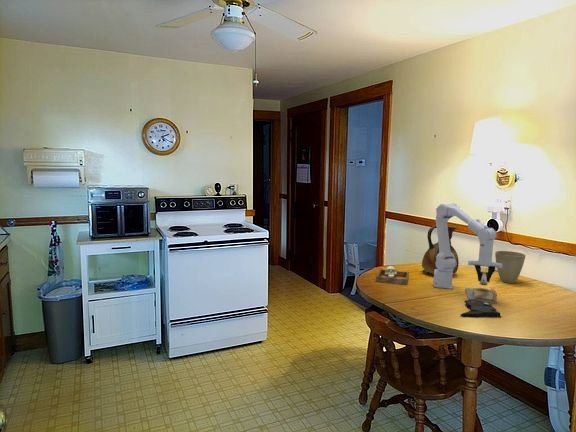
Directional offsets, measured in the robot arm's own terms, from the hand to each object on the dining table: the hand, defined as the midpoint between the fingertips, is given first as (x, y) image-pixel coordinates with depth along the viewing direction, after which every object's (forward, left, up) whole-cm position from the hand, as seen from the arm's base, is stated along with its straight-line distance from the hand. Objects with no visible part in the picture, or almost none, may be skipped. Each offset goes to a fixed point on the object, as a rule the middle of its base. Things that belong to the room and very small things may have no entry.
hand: (483, 281), depth 192 cm
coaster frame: (-44, +18, -9) cm, 48 cm away
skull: (-45, +17, -9) cm, 49 cm away
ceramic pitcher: (-19, +41, -9) cm, 46 cm away
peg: (0, 0, -2) cm, 2 cm away
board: (-1, +4, -9) cm, 10 cm away
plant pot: (+17, +39, -9) cm, 44 cm away
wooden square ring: (0, 0, -7) cm, 7 cm away
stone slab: (-4, -17, -10) cm, 20 cm away
